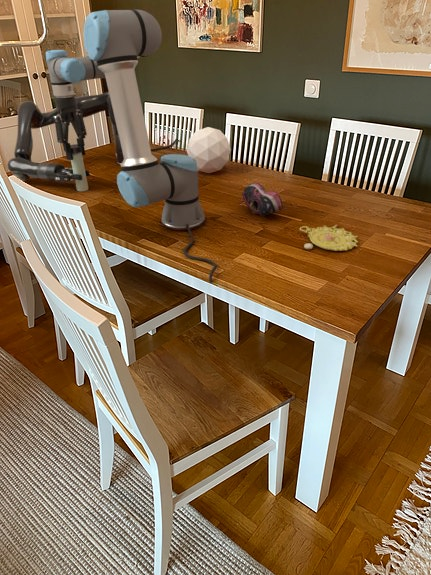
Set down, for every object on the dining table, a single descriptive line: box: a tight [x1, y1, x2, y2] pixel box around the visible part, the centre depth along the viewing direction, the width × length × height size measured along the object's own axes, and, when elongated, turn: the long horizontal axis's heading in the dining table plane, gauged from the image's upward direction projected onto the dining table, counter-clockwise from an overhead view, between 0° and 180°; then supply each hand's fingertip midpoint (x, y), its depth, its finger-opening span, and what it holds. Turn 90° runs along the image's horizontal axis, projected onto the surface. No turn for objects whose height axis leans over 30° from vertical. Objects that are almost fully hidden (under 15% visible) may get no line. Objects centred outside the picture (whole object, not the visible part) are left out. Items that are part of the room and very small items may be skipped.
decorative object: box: [299, 224, 359, 252], centre depth 141 cm, size 21×2×20 cm
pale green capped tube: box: [70, 152, 89, 193], centre depth 182 cm, size 5×5×17 cm
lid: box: [70, 143, 83, 154], centre depth 178 cm, size 6×6×2 cm
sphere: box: [186, 126, 232, 174], centre depth 198 cm, size 19×20×20 cm
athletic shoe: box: [238, 182, 284, 217], centre depth 160 cm, size 11×22×12 cm
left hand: (85, 175), depth 183 cm, fingers closed on pale green capped tube, 4 cm apart
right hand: (76, 157), depth 180 cm, fingers open, 6 cm apart
